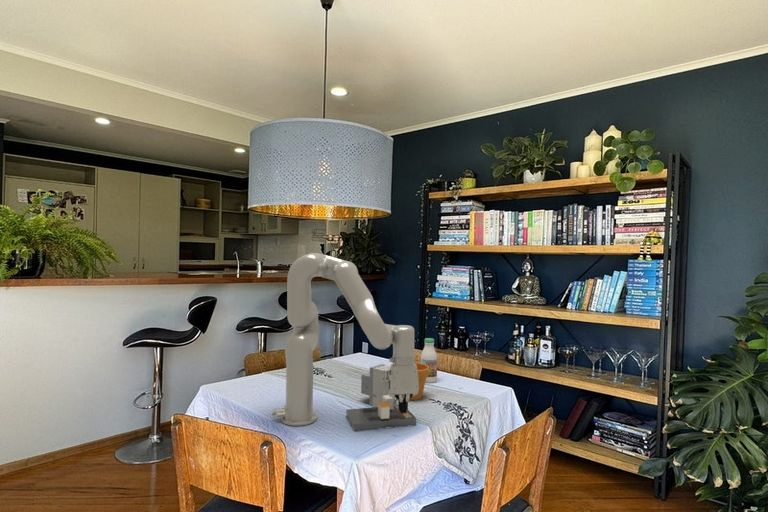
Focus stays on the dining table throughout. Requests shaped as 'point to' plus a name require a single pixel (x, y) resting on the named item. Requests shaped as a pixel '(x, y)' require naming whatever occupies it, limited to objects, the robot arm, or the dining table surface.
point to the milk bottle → (430, 360)
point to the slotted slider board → (378, 418)
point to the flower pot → (420, 379)
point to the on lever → (388, 401)
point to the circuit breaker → (376, 384)
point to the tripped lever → (383, 410)
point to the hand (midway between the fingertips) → (403, 411)
